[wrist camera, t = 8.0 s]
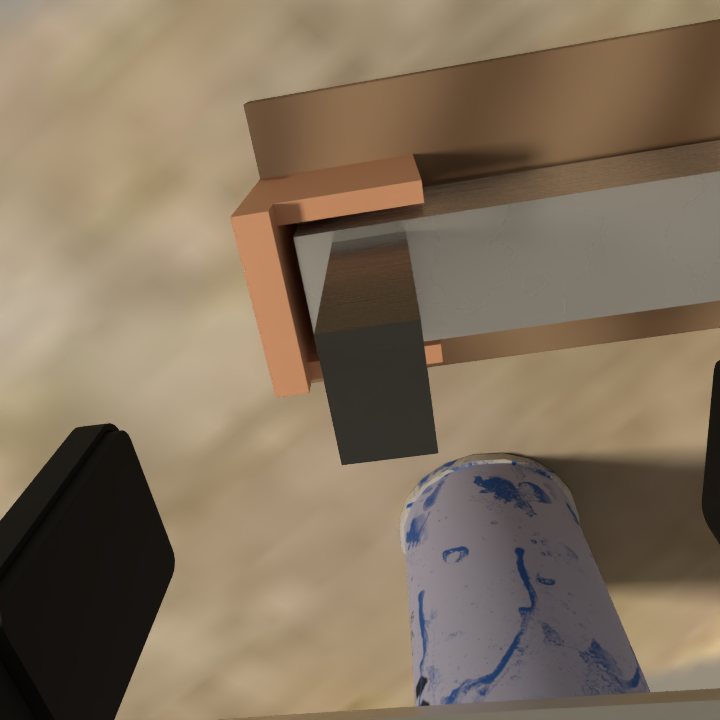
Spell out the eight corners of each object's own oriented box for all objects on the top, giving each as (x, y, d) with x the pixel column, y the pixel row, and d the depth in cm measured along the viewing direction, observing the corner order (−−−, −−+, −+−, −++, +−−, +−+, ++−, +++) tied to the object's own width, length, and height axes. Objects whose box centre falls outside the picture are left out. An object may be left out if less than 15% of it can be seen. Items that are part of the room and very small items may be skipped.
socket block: (412, 154, 21) (423, 186, 16) (431, 308, 23) (445, 374, 19) (260, 179, 21) (230, 217, 17) (294, 328, 24) (276, 397, 19)
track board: (1158, -58, 19) (1198, -63, 18) (1050, 269, 23) (1078, 279, 22) (249, 101, 21) (243, 104, 20) (308, 371, 25) (306, 383, 25)
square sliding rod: (826, 122, 19) (1192, 192, 11) (808, 239, 21) (1115, 382, 12) (305, 205, 21) (257, 327, 12) (326, 309, 22) (297, 482, 14)
